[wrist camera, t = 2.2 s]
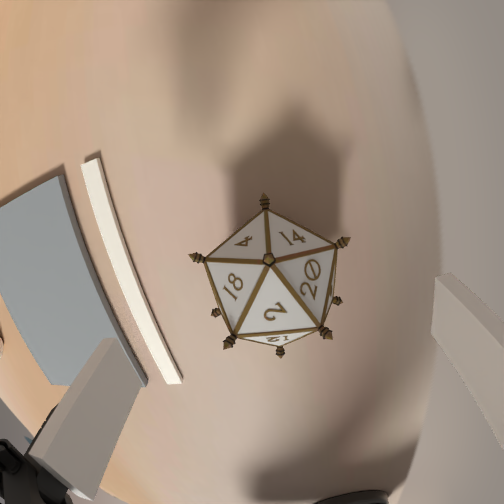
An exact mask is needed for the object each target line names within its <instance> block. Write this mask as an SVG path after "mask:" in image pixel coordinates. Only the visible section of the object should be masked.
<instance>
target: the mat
mask: <svg viewBox="0 0 504 504" xmlns="http://www.w3.org/2000/svg"><path fill="white" fill-rule="evenodd" d="M0 293H1V296H2V298H3V300H4V302H5V304H6V306H7V309H8V311H9V313H10V315H11V317H12V319H13V321H14V323H15V325H16V327H17V328H18V330H19V332H20V334H21V336H22V338H23V340H24V341H25V343H26V345H27V347H28V348H29V350H30V352H31V353H32V355H33V357H34V358H35V360H36V362H37V363H38V365H39V367H40V368H41V370H42V371H43V373H44V374H45V376H46V377H47V379H48V380H49V382H50V383H51V384H53V385H65V386H71V384H72V383H73V381H74V380H75V378H76V377H77V375H78V374H79V372H80V371H81V369H82V368H83V366H84V365H85V364H86V362H87V361H88V359H89V358H90V356H91V355H92V353H93V352H94V351H95V349H96V348H97V346H98V345H99V344H100V342H101V341H102V339H104V338H115V337H116V338H117V339H118V341H119V343H120V345H121V347H122V349H123V351H124V353H125V354H126V356H127V358H128V360H129V361H130V363H131V365H132V367H133V368H134V370H135V372H136V374H137V375H138V377H139V379H140V380H141V382H142V386H141V387H146V386H147V384H148V380H147V378H146V377H145V375H144V373H143V371H142V370H141V368H140V366H139V364H138V362H137V361H136V359H135V357H134V355H133V353H132V351H131V349H130V347H129V345H128V343H127V341H126V339H125V337H124V335H123V333H122V331H121V329H120V327H119V325H118V323H117V321H116V319H115V317H114V315H113V312H112V310H111V308H110V306H109V304H108V301H107V299H106V297H105V295H104V292H103V290H102V287H101V285H100V283H99V280H98V278H97V275H96V273H95V270H94V268H93V265H92V263H91V260H90V257H89V255H88V252H87V249H86V246H85V244H84V241H83V238H82V235H81V232H80V229H79V226H78V223H77V220H76V217H75V214H74V210H73V207H72V204H71V200H70V197H69V193H68V190H67V186H66V182H65V179H64V175H59V176H56V177H54V178H52V179H50V180H48V181H46V182H45V183H43V184H41V185H39V186H37V187H35V188H33V189H32V190H30V191H28V192H26V193H24V194H23V195H21V196H19V197H17V198H16V199H14V200H12V201H11V202H9V203H7V204H6V205H4V206H2V207H1V208H0Z"/></svg>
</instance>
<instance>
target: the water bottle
mask: <svg viewBox="0 0 504 504" xmlns="http://www.w3.org/2000/svg"><path fill="white" fill-rule="evenodd" d="M3 347H4V344H3V341H2V339H1V337H0V359H1V356H2V353H3Z"/></svg>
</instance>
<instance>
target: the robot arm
mask: <svg viewBox="0 0 504 504" xmlns="http://www.w3.org/2000/svg"><path fill="white" fill-rule="evenodd" d="M431 335H432V336H433V337H434V339H435V340H436V342H437V343H438V344H439V346H440V347H441V349H442V350H443V352H444V353H445V355H446V356H447V357H448V359H449V360H450V362H451V363H452V365H453V366H454V368H455V369H456V371H457V373H458V374H459V375H460V377H461V379H462V380H463V382H464V383H465V385H466V387H467V388H468V389H469V391H470V393H471V394H472V396H473V398H474V399H475V401H476V403H477V404H478V406H479V408H480V409H481V411H482V413H483V415H484V416H485V418H486V420H487V422H488V423H489V425H490V427H491V428H492V430H493V432H494V434H495V436H496V438H497V440H498V442H499V444H500V445H501V447H502V449H503V450H504V322H503V320H502V319H501V318H499V317H498V316H497V315H496V314H495V313H494V312H493V311H492V310H491V309H490V308H489V307H488V306H487V305H486V304H485V303H484V302H483V301H482V300H481V299H480V298H479V297H477V296H476V295H475V294H474V293H473V292H472V291H471V290H470V289H468V287H466V286H465V285H464V284H463V283H462V282H461V281H460V280H458V279H457V278H456V277H455V276H454V275H453V274H451V273H447V274H444V275H440V276H437V277H435V288H434V304H433V315H432V325H431ZM141 386H142V382H141V380H140V379H139V377H138V375H137V374H136V372H135V370H134V368H133V367H132V365H131V363H130V361H129V360H128V358H127V356H126V354H125V353H124V351H123V349H122V347H121V345H120V343H119V341H118V339H117V338H116V337H115V338H104V339H102V341H101V342H100V344H99V345H98V346H97V348H96V349H95V351H94V352H93V353H92V355H91V356H90V358H89V359H88V361H87V362H86V364H85V365H84V366H83V368H82V369H81V371H80V372H79V374H78V375H77V377H76V378H75V380H74V381H73V383H72V384H71V386H70V387H69V389H68V390H67V392H66V393H65V395H64V396H63V398H62V399H61V401H60V402H59V404H58V405H56V406H55V407H54V408H53V409H52V410H51V412H50V413H49V415H48V417H47V418H46V421H44V423H43V425H42V426H41V427H42V428H40V429H39V431H38V433H37V434H36V436H35V438H34V439H33V441H32V443H31V444H30V446H29V448H28V450H27V451H26V453H25V454H24V456H23V455H22V454H21V453H20V452H19V451H18V450H17V449H16V448H15V447H14V446H13V445H12V444H11V443H10V442H9V441H8V440H7V439H0V497H2V498H3V499H4V500H5V504H73V503H72V500H71V498H70V496H69V495H68V494H67V493H66V492H67V490H68V489H70V490H71V491H72V492H73V493H75V494H76V495H77V496H79V497H82V498H85V499H88V500H91V501H93V500H94V498H95V495H96V493H97V490H98V488H99V485H100V483H101V480H102V477H103V475H104V472H105V470H106V467H107V465H108V462H109V460H110V458H111V455H112V453H113V450H114V448H115V445H116V443H117V441H118V438H119V436H120V434H121V431H122V429H123V427H124V424H125V422H126V420H127V417H128V415H129V413H130V410H131V408H132V406H133V404H134V401H135V399H136V397H137V394H138V392H139V390H140V388H141ZM0 504H1V503H0ZM317 504H389V502H388V498H387V494H386V493H385V492H382V491H364V492H357V493H351V494H346V495H342V496H338V497H334V498H331V499H328V500H325V501H322V502H319V503H317Z"/></svg>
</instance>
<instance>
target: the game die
mask: <svg viewBox="0 0 504 504" xmlns="http://www.w3.org/2000/svg"><path fill="white" fill-rule="evenodd" d="M269 200H270V199H268V197H267V196H266V195H265V194H264V193H263V195H262V197H261V199H260V200H259V201H260V202H261V204H260V205H261V206H262V210H261V211H260V212H259V213H258V214H256V215H255V216H254V217H253V218H252V219H250V220H249V221H248V222H247V223H246V224H244V225H243V226H242V227H241V228H240V229H238V230H237V231H236V232H235V233H233V234H232V235H231V236H230V237H229V238H227V239H226V240H225V241H224V242H223V243H222V244H220V245H219V246H218V247H217V248H216V249H214V250H213V251H212V252H211V253H210V254H208V255H207V256H206V257H204V256H202V254H198V253H197V252H196V253H193V254H188V255H189V256H190V258H191V259H192V260H193V262H197V263H204V266H205V269H206V272H207V275H208V278H209V281H210V284H211V287H212V290H213V293H214V296H215V299H216V302H217V305H218V308H215V309H212V314H211V316H214V317H215V318H216V317H217V316H219V315H220V314H221V315H222V317H223V319H224V321H225V323H226V325H227V327H228V329H229V332H230V334H231V335H230V336H228V337H226V340H224V341H223V342H224V348H223V350H224V349H227V348H231V347H232V348H233V344H235V340H236V339H237V338H239V339H243V340H248V341H252V342H257V343H262V344H267V345H272V346H277V349H276V352H277V353H276V355H278V356H279V357H280V358H282V356H283V355H284V354H285V352H284V351H285V350H284V348H283V346H284V345H286V344H288V343H291V342H293V341H296V340H298V339H300V338H302V337H305V336H307V335H309V334H311V333H314V332H316V331H319V332H320V336H323V339H331V340H333V338H332V331H331V330H329V328H327V327H324V322H325V320H326V317H327V315H328V312H329V309H330V307H331V304H332V303H333V304H335V305H338V306H339V304H341V303H343V302H342V300H341V298H340V297H337V296H336V297H333V296H334V286H335V275H336V263H337V249H339V248H343V247H344V246H347V244H348V242H349V240H350V238H351V237H341V239H340V240H339V239H338V240H337V242H336V243H333V242H331V241H329V240H327V239H325V238H323V237H322V236H320V235H318V234H316V233H314V232H312V231H310V230H308V229H307V228H305V227H303V226H301V225H299V224H297V223H295V222H293V221H291V220H289V219H287V218H285V217H283V216H282V215H280V214H278V213H276V212H274V211H272V210H270V209H269V208H268V207H269V204H270V203H269Z"/></svg>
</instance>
